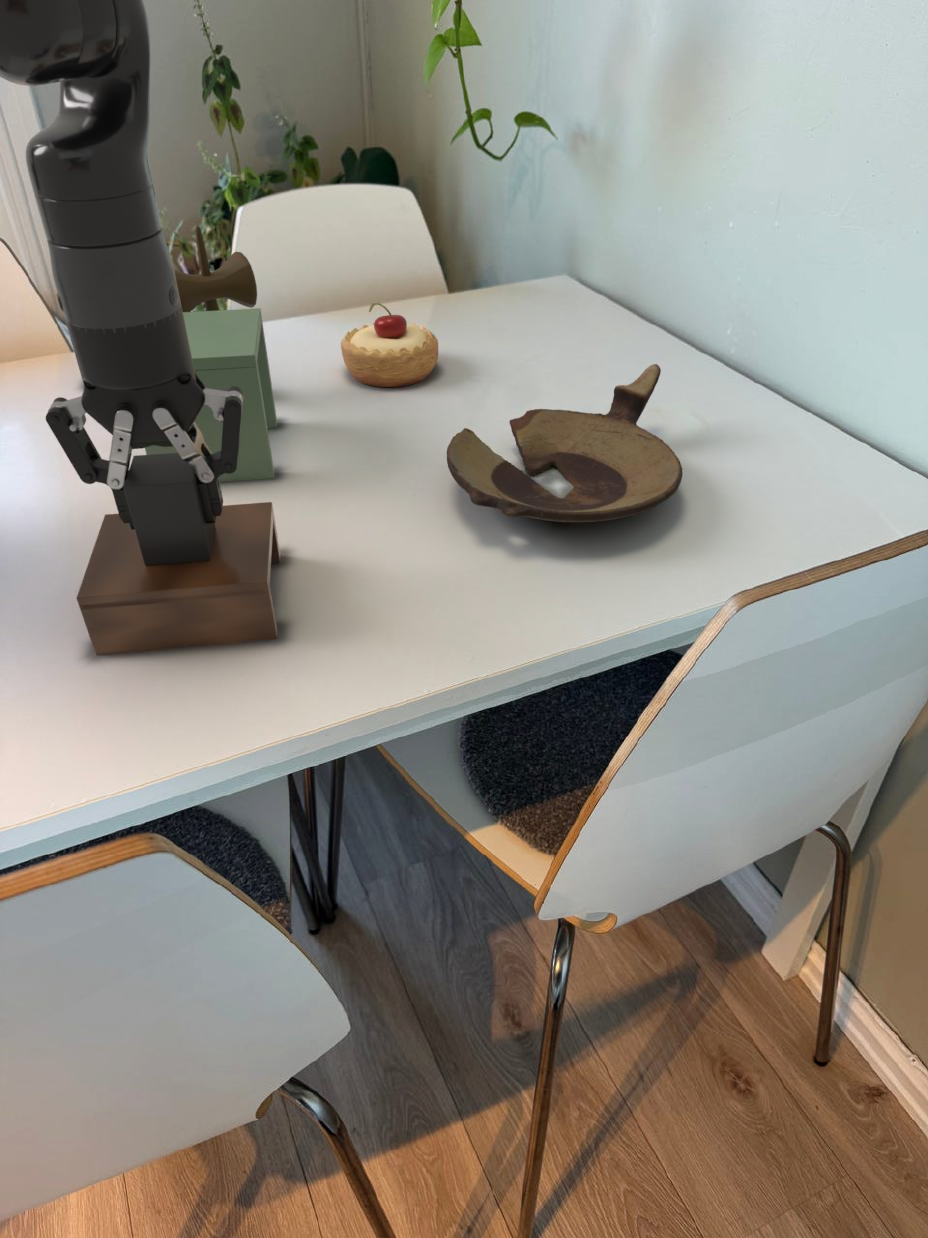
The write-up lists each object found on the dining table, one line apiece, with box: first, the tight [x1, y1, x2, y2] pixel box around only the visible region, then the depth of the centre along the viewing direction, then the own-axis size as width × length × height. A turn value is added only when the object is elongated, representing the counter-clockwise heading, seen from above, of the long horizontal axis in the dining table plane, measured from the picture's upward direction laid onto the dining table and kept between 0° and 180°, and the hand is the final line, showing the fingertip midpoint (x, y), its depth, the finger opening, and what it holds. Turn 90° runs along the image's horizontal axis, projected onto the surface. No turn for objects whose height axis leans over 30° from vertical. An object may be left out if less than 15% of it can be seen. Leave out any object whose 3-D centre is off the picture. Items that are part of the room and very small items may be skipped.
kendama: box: [174, 225, 258, 312], centre depth 101 cm, size 6×10×20 cm, turn 124°
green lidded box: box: [144, 307, 278, 483], centre depth 92 cm, size 12×13×14 cm
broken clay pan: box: [446, 363, 683, 523], centre depth 88 cm, size 22×30×8 cm
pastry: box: [340, 302, 439, 388], centre depth 110 cm, size 12×12×9 cm
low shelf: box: [76, 501, 282, 656], centre depth 73 cm, size 14×12×6 cm
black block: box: [123, 453, 215, 566], centre depth 69 cm, size 5×5×7 cm
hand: (174, 520), depth 70 cm, fingers closed on black block, 5 cm apart
